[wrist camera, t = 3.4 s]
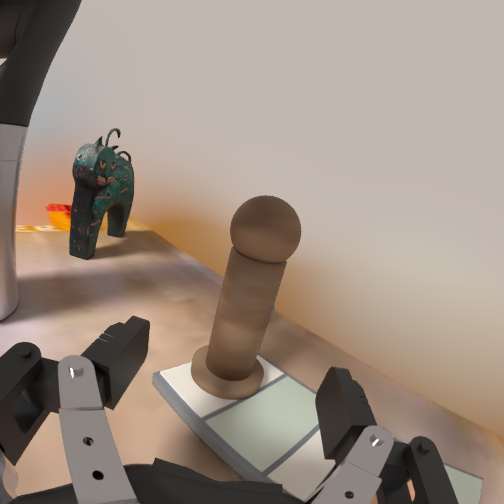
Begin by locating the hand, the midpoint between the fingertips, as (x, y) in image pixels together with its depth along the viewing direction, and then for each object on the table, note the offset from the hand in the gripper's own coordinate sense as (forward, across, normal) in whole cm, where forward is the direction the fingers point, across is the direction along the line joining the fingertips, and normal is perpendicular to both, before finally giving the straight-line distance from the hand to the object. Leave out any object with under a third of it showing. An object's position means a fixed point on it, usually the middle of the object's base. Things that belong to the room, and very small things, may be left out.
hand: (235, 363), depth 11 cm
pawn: (+8, 0, +7) cm, 10 cm away
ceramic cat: (+31, +27, +9) cm, 42 cm away
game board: (+1, -8, +8) cm, 12 cm away
